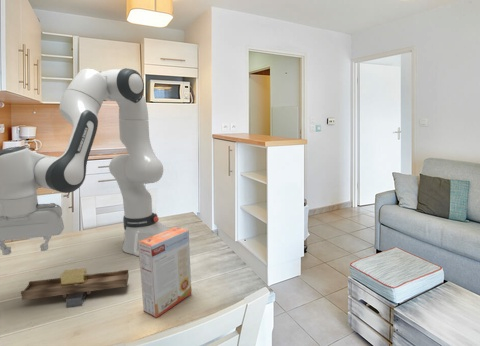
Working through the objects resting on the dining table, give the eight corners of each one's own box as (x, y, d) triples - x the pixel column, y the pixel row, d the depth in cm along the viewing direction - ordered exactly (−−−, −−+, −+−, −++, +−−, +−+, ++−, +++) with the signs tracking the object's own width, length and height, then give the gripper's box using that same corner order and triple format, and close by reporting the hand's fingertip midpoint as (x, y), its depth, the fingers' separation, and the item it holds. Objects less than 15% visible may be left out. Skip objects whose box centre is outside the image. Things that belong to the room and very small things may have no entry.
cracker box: (178, 288, 96) (175, 225, 93) (192, 294, 93) (190, 229, 89) (141, 311, 85) (137, 240, 81) (156, 318, 81) (152, 245, 78)
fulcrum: (90, 284, 99) (90, 277, 98) (82, 305, 87) (81, 297, 87) (77, 285, 98) (76, 278, 97) (66, 307, 86) (65, 299, 86)
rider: (87, 279, 94) (86, 267, 93) (84, 286, 90) (83, 274, 90) (66, 282, 93) (64, 270, 92) (62, 289, 89) (60, 276, 88)
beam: (128, 279, 99) (128, 269, 98) (127, 289, 93) (126, 278, 92) (30, 291, 92) (29, 281, 91) (22, 303, 86) (20, 291, 85)
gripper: (64, 199, 90) (69, 243, 93) (-18, 205, 85) (-10, 251, 87) (57, 205, 84) (63, 252, 87) (-31, 212, 79) (-22, 261, 81)
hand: (26, 252), depth 87 cm, fingers open, 8 cm apart
